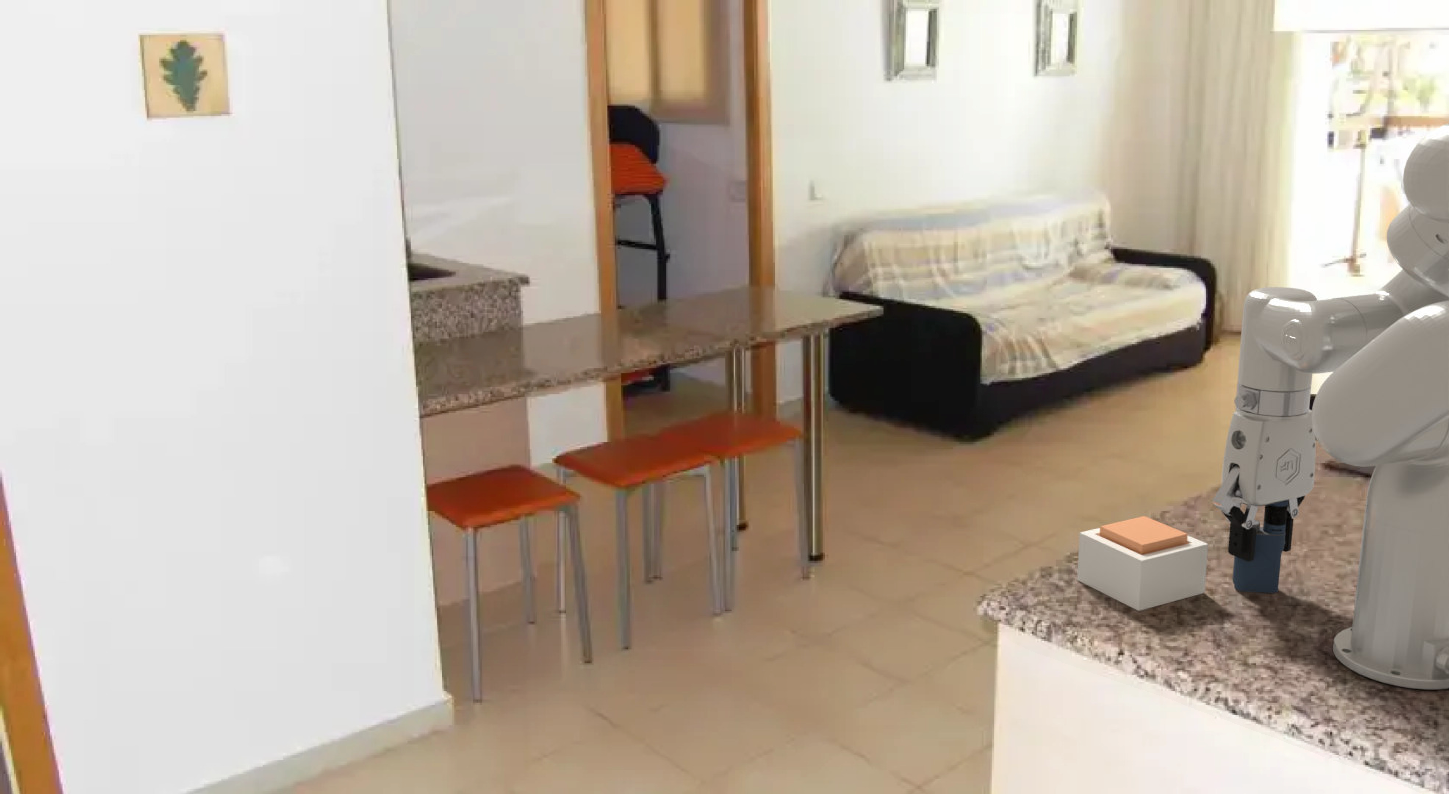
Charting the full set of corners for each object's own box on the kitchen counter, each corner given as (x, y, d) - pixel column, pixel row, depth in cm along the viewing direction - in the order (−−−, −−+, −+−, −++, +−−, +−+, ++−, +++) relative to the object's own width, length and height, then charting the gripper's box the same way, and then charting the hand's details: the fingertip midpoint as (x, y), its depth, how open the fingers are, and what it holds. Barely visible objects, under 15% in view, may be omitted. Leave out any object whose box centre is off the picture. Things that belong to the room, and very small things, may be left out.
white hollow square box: (1204, 592, 145) (1208, 544, 143) (1138, 611, 141) (1141, 560, 139) (1141, 563, 154) (1144, 517, 152) (1077, 580, 149) (1079, 532, 148)
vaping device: (1282, 594, 144) (1292, 495, 141) (1234, 591, 145) (1242, 493, 142) (1277, 585, 146) (1287, 487, 143) (1229, 582, 148) (1238, 485, 144)
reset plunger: (1185, 558, 145) (1187, 533, 144) (1140, 570, 142) (1142, 545, 141) (1142, 539, 151) (1144, 516, 150) (1098, 550, 148) (1100, 526, 147)
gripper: (1243, 418, 133) (1230, 578, 138) (1354, 396, 140) (1338, 549, 145) (1189, 402, 140) (1179, 556, 144) (1298, 382, 147) (1284, 529, 151)
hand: (1259, 551), depth 145 cm, fingers open, 5 cm apart
